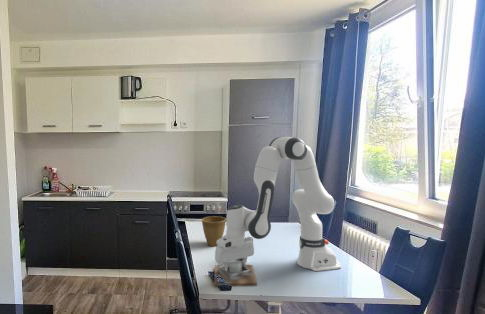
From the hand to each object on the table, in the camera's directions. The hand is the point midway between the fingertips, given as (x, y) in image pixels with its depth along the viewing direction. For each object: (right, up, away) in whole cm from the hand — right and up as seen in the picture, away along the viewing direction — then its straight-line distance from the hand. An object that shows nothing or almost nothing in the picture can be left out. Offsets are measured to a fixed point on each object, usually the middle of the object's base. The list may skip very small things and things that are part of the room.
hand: (235, 268), depth 138 cm
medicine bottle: (+1, -3, +18) cm, 19 cm away
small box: (0, -2, 0) cm, 2 cm away
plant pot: (-14, -2, +43) cm, 45 cm away
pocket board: (0, -4, 0) cm, 4 cm away
